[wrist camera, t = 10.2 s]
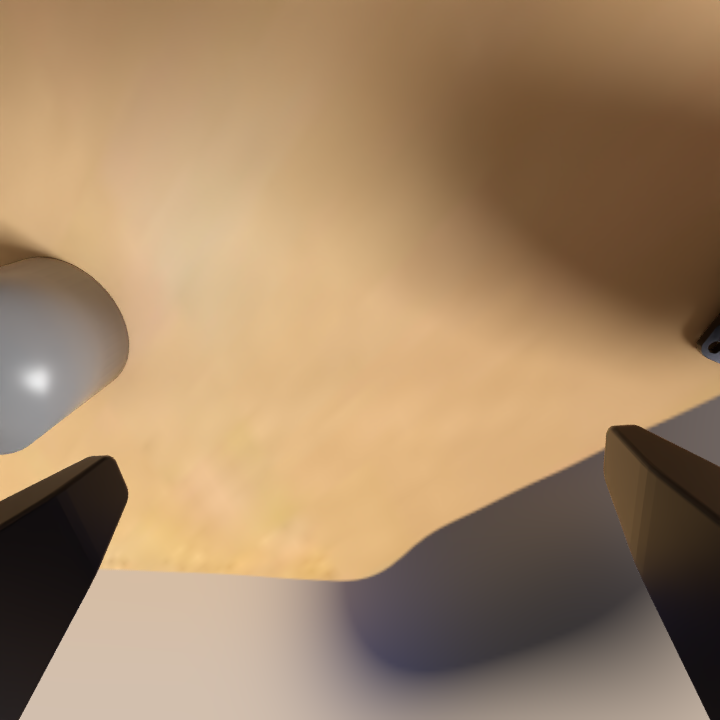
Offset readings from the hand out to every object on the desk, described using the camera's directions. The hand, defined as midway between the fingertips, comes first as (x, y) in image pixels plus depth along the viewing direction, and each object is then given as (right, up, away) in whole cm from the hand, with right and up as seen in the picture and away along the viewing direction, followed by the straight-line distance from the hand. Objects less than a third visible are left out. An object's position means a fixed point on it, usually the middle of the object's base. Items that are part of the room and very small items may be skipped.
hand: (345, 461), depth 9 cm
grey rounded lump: (-15, +3, +15) cm, 21 cm away
